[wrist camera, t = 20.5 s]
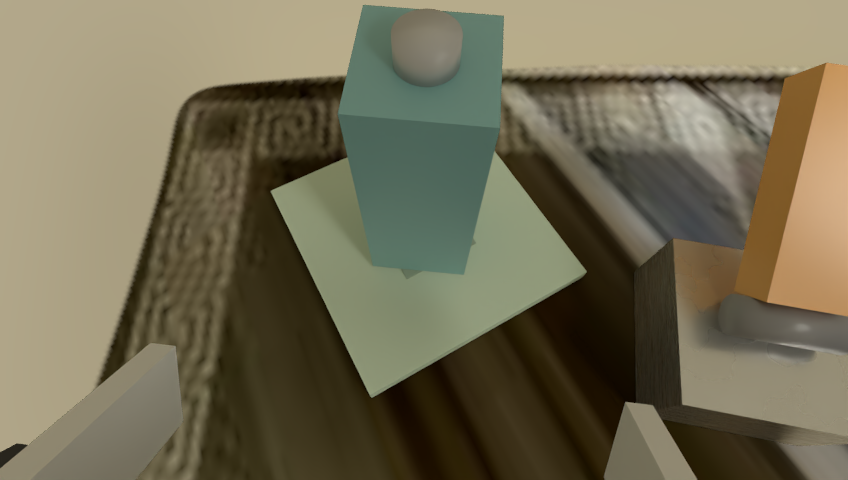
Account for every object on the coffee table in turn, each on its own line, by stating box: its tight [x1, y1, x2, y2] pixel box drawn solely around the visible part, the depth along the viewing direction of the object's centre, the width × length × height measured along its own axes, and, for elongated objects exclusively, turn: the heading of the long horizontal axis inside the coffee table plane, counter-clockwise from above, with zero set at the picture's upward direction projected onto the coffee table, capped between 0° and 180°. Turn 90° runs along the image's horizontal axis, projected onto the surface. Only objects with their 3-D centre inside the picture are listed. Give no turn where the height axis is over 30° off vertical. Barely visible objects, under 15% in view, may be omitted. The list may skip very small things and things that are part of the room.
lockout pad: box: [271, 151, 587, 398], centre depth 24 cm, size 12×12×1 cm
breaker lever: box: [718, 63, 848, 355], centre depth 17 cm, size 2×4×10 cm
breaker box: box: [634, 238, 848, 446], centre depth 20 cm, size 7×7×4 cm
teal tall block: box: [338, 5, 504, 275], centre depth 18 cm, size 4×4×12 cm
